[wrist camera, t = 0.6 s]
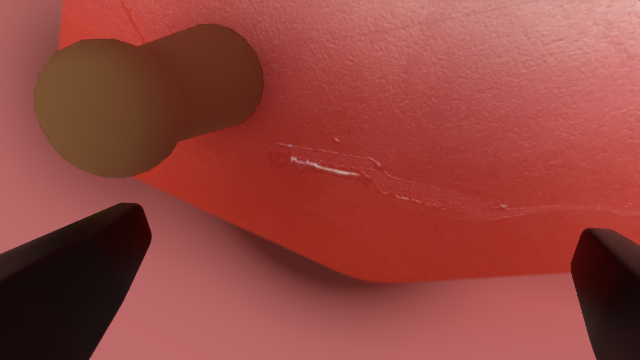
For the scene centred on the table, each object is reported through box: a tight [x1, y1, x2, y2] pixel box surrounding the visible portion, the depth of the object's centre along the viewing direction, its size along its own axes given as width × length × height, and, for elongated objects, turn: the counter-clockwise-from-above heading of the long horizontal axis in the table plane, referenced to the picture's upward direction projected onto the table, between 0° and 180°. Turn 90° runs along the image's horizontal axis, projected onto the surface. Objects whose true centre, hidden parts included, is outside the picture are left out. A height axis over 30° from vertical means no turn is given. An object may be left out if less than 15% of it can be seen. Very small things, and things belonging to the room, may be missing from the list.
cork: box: [34, 24, 263, 178], centre depth 19 cm, size 6×6×11 cm
